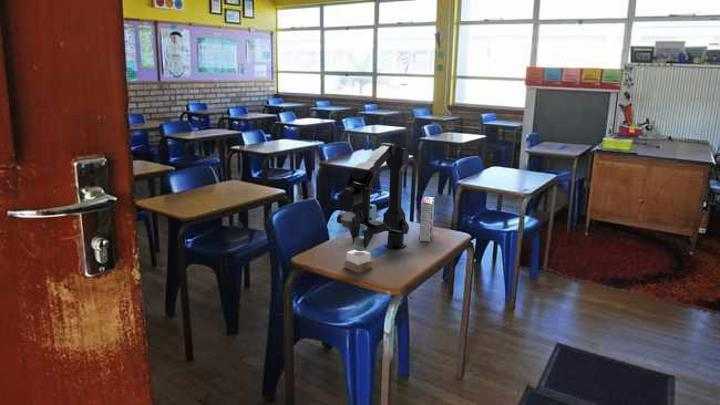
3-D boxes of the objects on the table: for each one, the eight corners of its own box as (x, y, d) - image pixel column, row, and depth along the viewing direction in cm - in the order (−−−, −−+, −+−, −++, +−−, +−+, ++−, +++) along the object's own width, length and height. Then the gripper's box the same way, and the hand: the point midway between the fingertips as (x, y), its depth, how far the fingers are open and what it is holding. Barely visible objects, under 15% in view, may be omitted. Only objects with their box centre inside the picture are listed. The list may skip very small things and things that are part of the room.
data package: (366, 229, 232) (367, 202, 229) (375, 230, 230) (376, 204, 227) (354, 237, 221) (355, 209, 218) (364, 238, 219) (365, 210, 216)
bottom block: (357, 263, 193) (357, 255, 193) (372, 268, 189) (372, 260, 188) (344, 268, 188) (344, 260, 187) (359, 274, 184) (359, 265, 183)
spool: (359, 245, 190) (360, 235, 189) (369, 248, 187) (369, 238, 186) (351, 248, 186) (351, 237, 185) (360, 251, 184) (361, 241, 183)
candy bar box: (420, 233, 229) (423, 196, 225) (432, 234, 228) (435, 197, 224) (418, 241, 218) (420, 202, 214) (430, 242, 217) (433, 203, 213)
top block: (358, 256, 192) (358, 248, 191) (370, 261, 188) (370, 253, 187) (346, 260, 188) (346, 252, 187) (358, 265, 184) (358, 256, 183)
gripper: (325, 201, 183) (325, 245, 187) (367, 213, 171) (365, 258, 175) (347, 196, 191) (346, 237, 195) (388, 206, 179) (386, 250, 183)
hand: (360, 246), depth 186 cm, fingers closed on spool, 4 cm apart
